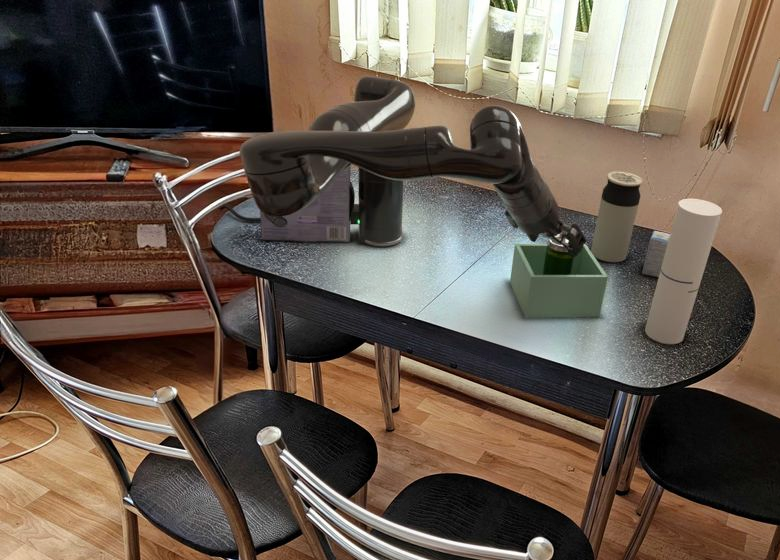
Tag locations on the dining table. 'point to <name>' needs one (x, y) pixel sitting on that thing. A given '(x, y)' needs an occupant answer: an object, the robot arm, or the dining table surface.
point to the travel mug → (616, 216)
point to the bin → (557, 284)
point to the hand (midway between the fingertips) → (555, 244)
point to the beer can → (557, 259)
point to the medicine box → (655, 253)
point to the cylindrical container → (682, 269)
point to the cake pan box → (316, 216)
